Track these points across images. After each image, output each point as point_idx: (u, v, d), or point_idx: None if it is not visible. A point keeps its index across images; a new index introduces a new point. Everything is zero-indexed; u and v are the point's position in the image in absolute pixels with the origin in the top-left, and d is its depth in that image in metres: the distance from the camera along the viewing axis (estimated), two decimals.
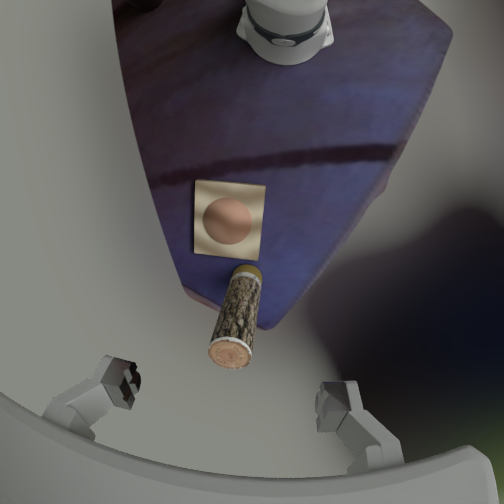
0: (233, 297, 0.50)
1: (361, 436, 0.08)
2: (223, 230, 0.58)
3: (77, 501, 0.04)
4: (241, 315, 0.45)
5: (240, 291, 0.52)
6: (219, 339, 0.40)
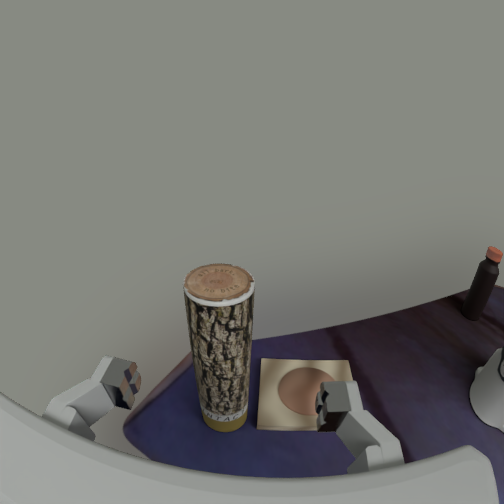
0: None
1: (361, 436, 0.08)
2: (297, 386, 0.41)
3: (77, 501, 0.04)
4: (250, 337, 0.28)
5: None
6: None
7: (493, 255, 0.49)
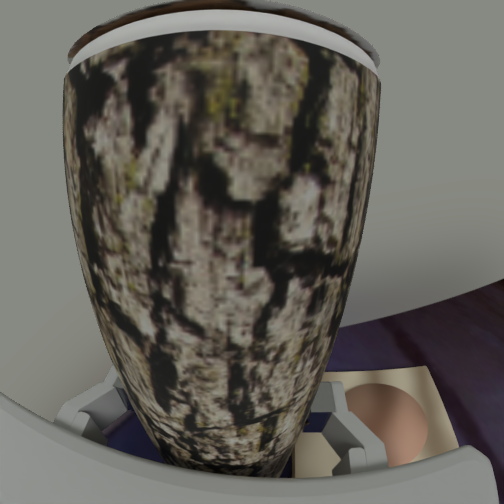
0: None
1: (345, 438, 0.08)
2: (361, 420, 0.20)
3: (77, 501, 0.04)
4: None
5: None
6: None
7: None
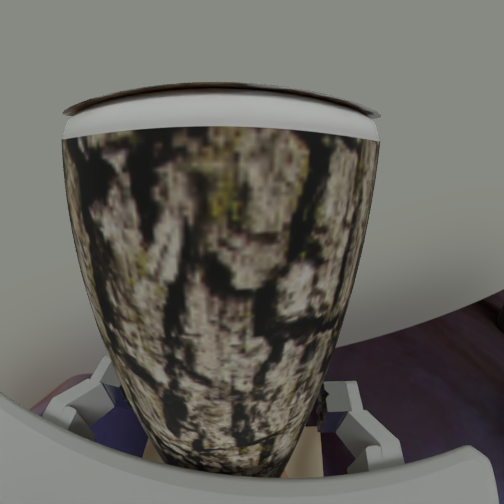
0: None
1: (361, 436, 0.08)
2: None
3: (77, 501, 0.04)
4: None
5: None
6: None
7: None
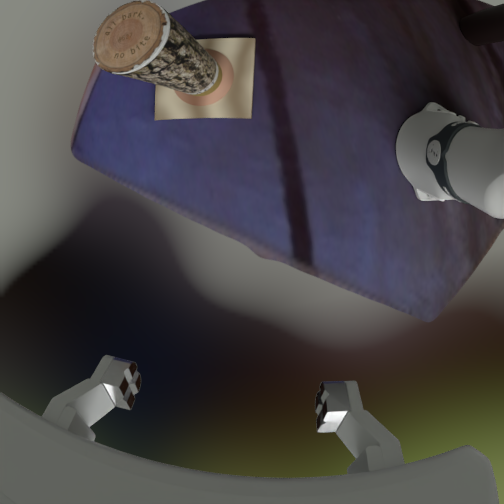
0: (201, 47, 0.24)
1: (361, 436, 0.08)
2: None
3: (77, 501, 0.04)
4: (188, 54, 0.20)
5: (206, 59, 0.26)
6: (163, 11, 0.14)
7: None
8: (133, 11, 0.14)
